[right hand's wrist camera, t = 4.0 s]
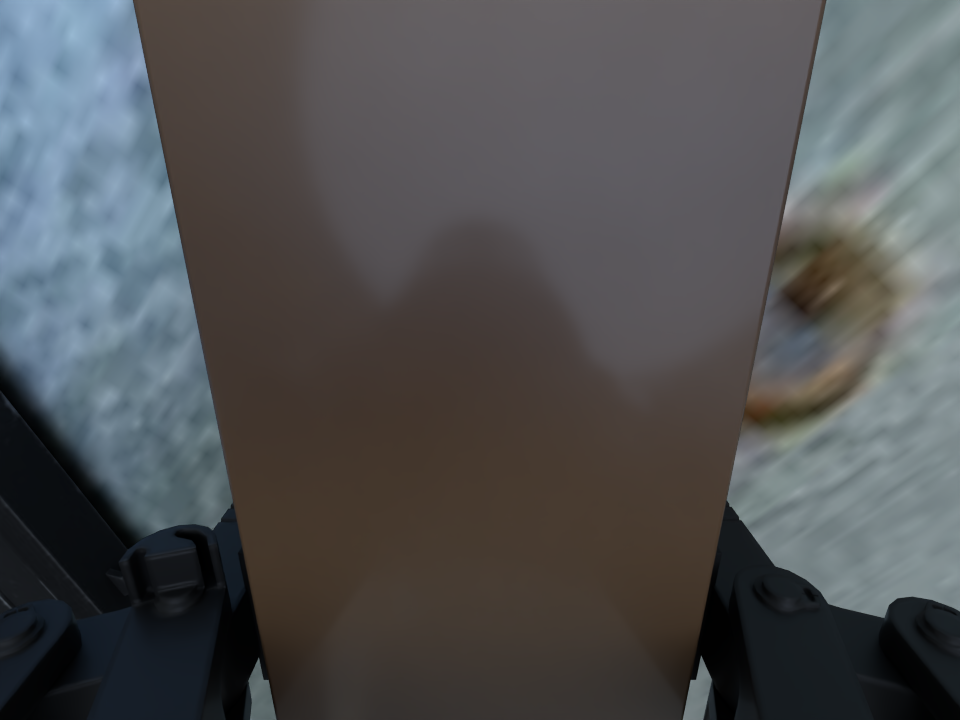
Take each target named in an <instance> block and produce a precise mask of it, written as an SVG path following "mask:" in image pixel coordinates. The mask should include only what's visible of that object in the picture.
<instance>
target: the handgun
mask: <svg viewBox="0 0 960 720" xmlns="http://www.w3.org/2000/svg"><path fill="white" fill-rule="evenodd" d="M126 551H127V548H126V547H125V546H124V545H123V543H122V542H121V541H120V540H119V538H118V537H117V536H116V535H115V533H114V532H113V531H112V530H111V528H110V527H109V526H108V525H107V523H106V522H105V521H104V520H103V518H102V517H101V516H100V515H99V513H98V512H97V511H96V510H95V508H94V507H93V506H92V505H91V503H90V502H89V501H88V500H87V498H86V497H85V496H84V495H83V493H82V492H81V491H80V490H79V488H78V487H77V486H76V485H75V483H74V482H73V481H72V480H71V478H70V477H69V476H68V475H67V473H66V472H65V471H64V470H63V468H62V467H61V466H60V465H59V463H58V462H57V461H56V460H55V458H54V457H53V456H52V455H51V453H50V452H49V451H48V450H47V448H46V447H45V446H44V445H43V443H42V442H41V441H40V440H39V438H38V437H37V436H36V435H35V433H34V432H33V431H32V430H31V428H30V427H29V426H28V425H27V423H26V422H25V421H24V420H23V418H22V417H21V416H20V415H19V413H18V412H17V411H16V410H15V408H14V407H13V406H12V405H11V403H10V402H9V401H8V400H7V398H6V397H5V396H4V395H3V393H2V392H1V391H0V614H1V613H3V612H5V611H7V610H9V609H12V608H15V607H18V606H20V605H23V604H26V603H28V602H34V601H39V600H45V599H52V600H61V601H64V602H65V603H66V604H68V605H69V606H70V607H71V608H72V611H73V614H74V617H75V619H76V620H80V619H84V618H88V617H92V616H97V615H101V614H105V613H109V612H114V611H118V610H121V609H125V608H128V607H131V606H132V605H131V601H130V598H129V595H128V592H127V588H126V585H125V582H124V579H123V575H122V572H121V569H120V566H119V561H120V559H121V558H122V557H123V555H124V554H125V553H126Z"/></svg>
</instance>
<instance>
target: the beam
mask: <svg viewBox="0 0 960 720" xmlns="http://www.w3.org/2000/svg"><path fill="white" fill-rule="evenodd" d="M133 3H134V8H135V13H136V18H137V23H138V28H139V33H140V38H141V43H142V48H143V53H144V58H145V63H146V68H147V73H148V78H149V83H150V88H151V93H152V98H153V103H154V108H155V113H156V118H157V123H158V128H159V133H160V138H161V143H162V148H163V153H164V158H165V163H166V168H167V173H168V178H169V183H170V188H171V193H172V198H173V203H174V208H175V213H176V218H177V223H178V228H179V233H180V238H181V243H182V248H183V253H184V258H185V263H186V268H187V273H188V278H189V283H190V288H191V293H192V298H193V303H194V308H195V313H196V318H197V323H198V328H199V333H200V338H201V343H202V348H203V353H204V358H205V363H206V368H207V373H208V378H209V383H210V388H211V393H212V398H213V403H214V408H215V414H216V419H217V424H218V429H219V434H220V439H221V444H222V449H223V454H224V459H225V464H226V469H227V474H228V479H229V484H230V489H231V494H232V499H233V504H234V509H235V514H236V519H237V524H238V529H239V534H240V539H241V544H242V549H243V554H244V559H245V564H246V569H247V574H248V579H249V584H250V589H251V594H252V599H253V604H254V609H255V614H256V619H257V624H258V629H259V634H260V639H261V644H262V649H263V654H264V659H265V664H266V669H267V674H268V679H269V684H270V689H271V694H272V699H273V704H274V709H275V714H276V719H277V720H683V715H684V710H685V705H686V700H687V695H688V690H689V685H690V680H691V675H692V670H693V665H694V660H695V655H696V650H697V645H698V640H699V635H700V630H701V625H702V620H703V615H704V610H705V605H706V600H707V595H708V590H709V585H710V580H711V575H712V570H713V565H714V560H715V555H716V550H717V545H718V540H719V535H720V530H721V525H722V520H723V515H724V510H725V505H726V500H727V495H728V490H729V485H730V480H731V475H732V470H733V465H734V460H735V455H736V450H737V445H738V440H739V435H740V430H741V425H742V420H743V415H744V410H745V405H746V400H747V395H748V390H749V385H750V380H751V375H752V370H753V365H754V360H755V355H756V350H757V345H758V340H759V335H760V330H761V325H762V320H763V315H764V310H765V305H766V300H767V295H768V290H769V285H770V280H771V275H772V270H773V265H774V260H775V255H776V250H777V245H778V240H779V235H780V230H781V225H782V220H783V215H784V210H785V204H786V199H787V194H788V189H789V184H790V179H791V174H792V169H793V164H794V159H795V154H796V149H797V144H798V139H799V134H800V129H801V124H802V119H803V114H804V109H805V104H806V99H807V94H808V89H809V84H810V79H811V74H812V69H813V64H814V59H815V54H816V49H817V44H818V39H819V34H820V29H821V24H822V19H823V14H824V9H825V4H826V0H133Z"/></svg>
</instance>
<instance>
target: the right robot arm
mask: <svg viewBox="0 0 960 720" xmlns="http://www.w3.org/2000/svg"><path fill="white" fill-rule="evenodd" d="M119 566H120V569H121V572H122V575H123V579H124V582H125V585H126V588H127V592H128V595H129V598H130V601H131V605H132V606H131V607H128V608H125V609H121V610H118V611H114V612H109V613H105V614H101V615H97V616H92V617H88V618H84V619H80V620H76V619H75V617H74V614H73V611H72V608H71V607H70V606H69V605H68V604H66V603H65V602H64V601H61V600H52V599H45V600H39V601H34V602H28V603H26V604H23V605H20V606H18V607H15V608H12V609H9V610H7V611H5V612H3V613H1V614H0V720H250V714H251V704H252V700H251V693H250V687H249V683H248V680H249V678H250V676H251V673H252V671H253V669H254V667H255V664H256V662H257V660H258V658H259V659H260V664H261V669H262V674H263V679H264V680H269V679H268V674H267V669H266V664H265V659H264V654H263V649H262V644H261V639H260V634H259V629H258V624H257V619H256V614H255V609H254V604H253V599H252V594H251V589H250V584H249V579H248V574H247V569H246V564H245V559H244V554H243V549H242V544H241V539H240V534H239V529H238V524H237V519H236V514H235V509H234V504H233V503H232V505H231V509H228V510H227V512H226V513H225V514H224V516H223V517H222V518H221V522H219V523H218V524H217V525H216V527H215V528H214V529H213V531H212V530H211V529H210V528H208V527H205V526H200V525H196V524H192V525H178V526H174V527H171V528H167V529H163V530H160V531H158V532H156V533H154V534H152V535H149V536H147V537H145V538H143V539H142V540H140V541H139V542H138V543H136V544H135V545H134V546H132V547H131V548H130V549H128V550H127V551H126V553H125V554H124V555H123V557H122V558H121V559H120V561H119ZM701 656H702V658H703V660H704V663H705V665H706V667H707V669H708V671H709V674H710V676H711V678H712V683H711V687H710V692H709V696H708V701H707V705H706V710H705V714H704V719H703V720H960V611H958V610H956V609H954V608H952V607H949V606H947V605H944V604H941V603H938V602H936V601H933V600H929V599H923V598H917V597H905V598H897V599H896V600H895V601H894V602H892V603H891V604H890V605H889V607H888V610H887V612H886V615H885V618H881V617H877V616H873V615H869V614H864V613H860V612H856V611H852V610H847V609H843V608H839V607H836V606H833V605H829V604H828V603H827V602H826V600H825V599H824V597H823V596H822V594H821V592H820V591H819V590H817V589H816V588H815V587H814V586H813V585H811V584H810V583H809V582H808V581H807V580H805V579H803V578H802V577H800V576H798V575H796V574H794V573H792V572H790V571H788V570H785V569H782V568H778V567H775V566H774V564H773V563H772V562H771V560H770V559H769V557H768V556H767V555H766V553H765V552H764V551H763V549H762V548H761V547H760V545H759V544H758V542H757V541H756V540H755V538H754V537H753V536H752V534H751V533H750V532H749V530H748V529H747V527H746V526H745V525H744V523H743V522H742V521H741V520H739V517H738V515H737V514H736V512H735V511H734V510H733V508H732V507H729V503H728V502H727V500H726V505H725V510H724V515H723V520H722V525H721V530H720V535H719V540H718V545H717V550H716V555H715V560H714V565H713V570H712V575H711V580H710V585H709V590H708V595H707V600H706V605H705V610H704V615H703V620H702V625H701V630H700V635H699V640H698V645H697V650H696V655H695V660H694V665H693V670H692V675H691V680H696V677H697V672H698V667H699V663H700V658H701Z"/></svg>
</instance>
